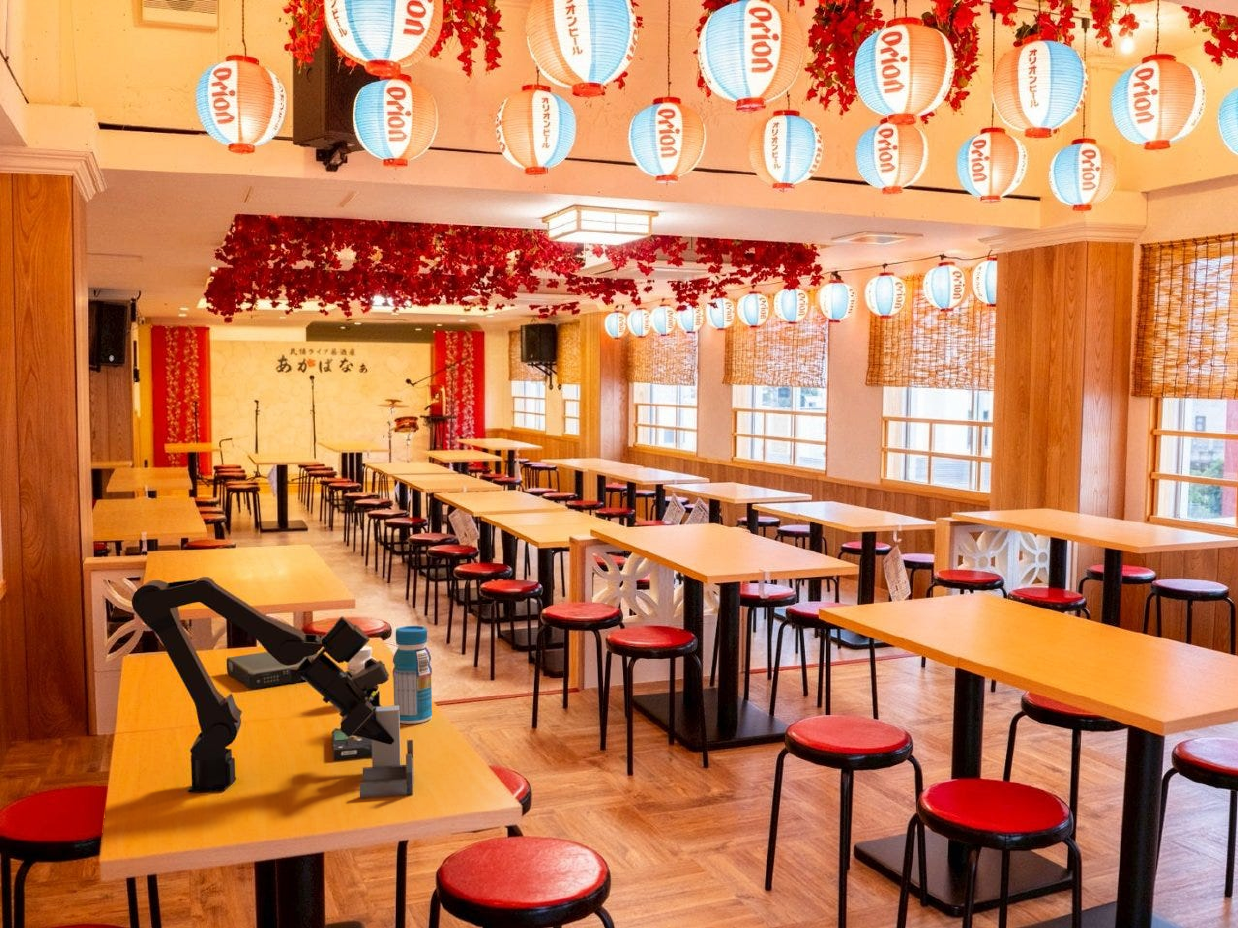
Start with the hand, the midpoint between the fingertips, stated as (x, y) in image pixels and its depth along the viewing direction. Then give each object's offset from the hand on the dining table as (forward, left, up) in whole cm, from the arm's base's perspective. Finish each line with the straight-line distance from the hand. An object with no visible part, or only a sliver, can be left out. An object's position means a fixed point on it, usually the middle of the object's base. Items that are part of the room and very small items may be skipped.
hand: (393, 736), depth 197 cm
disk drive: (-10, +15, -7) cm, 20 cm away
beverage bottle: (-3, +34, -7) cm, 35 cm away
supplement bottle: (-17, +47, -7) cm, 51 cm away
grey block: (-1, 0, -7) cm, 7 cm away
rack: (0, -9, -7) cm, 11 cm away
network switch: (-45, +74, -7) cm, 87 cm away
